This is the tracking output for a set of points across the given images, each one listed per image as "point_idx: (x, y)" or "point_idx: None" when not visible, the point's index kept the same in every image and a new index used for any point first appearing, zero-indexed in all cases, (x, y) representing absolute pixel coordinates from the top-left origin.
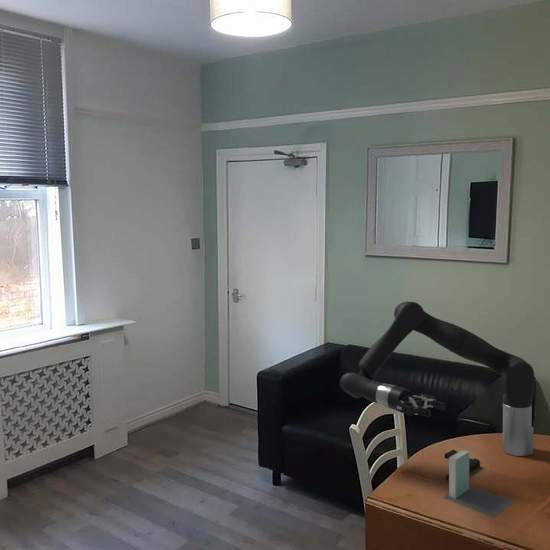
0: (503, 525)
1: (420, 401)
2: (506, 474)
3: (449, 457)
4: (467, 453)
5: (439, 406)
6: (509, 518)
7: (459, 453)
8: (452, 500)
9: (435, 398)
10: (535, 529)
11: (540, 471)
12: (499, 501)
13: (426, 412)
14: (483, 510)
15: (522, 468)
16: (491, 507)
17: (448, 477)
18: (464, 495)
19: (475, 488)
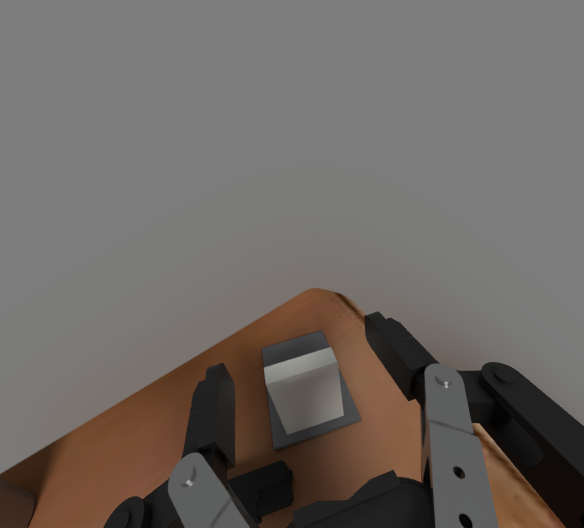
0: (321, 320)
1: (328, 507)
2: (163, 437)
3: (335, 361)
4: (272, 367)
5: (228, 403)
6: (301, 327)
7: (295, 368)
8: (348, 396)
9: (137, 498)
10: (295, 304)
11: (119, 409)
12: (279, 356)
13: (390, 320)
14: (321, 348)
15: (116, 440)
16: (303, 349)
17: (290, 487)
18: None
19: (272, 412)
